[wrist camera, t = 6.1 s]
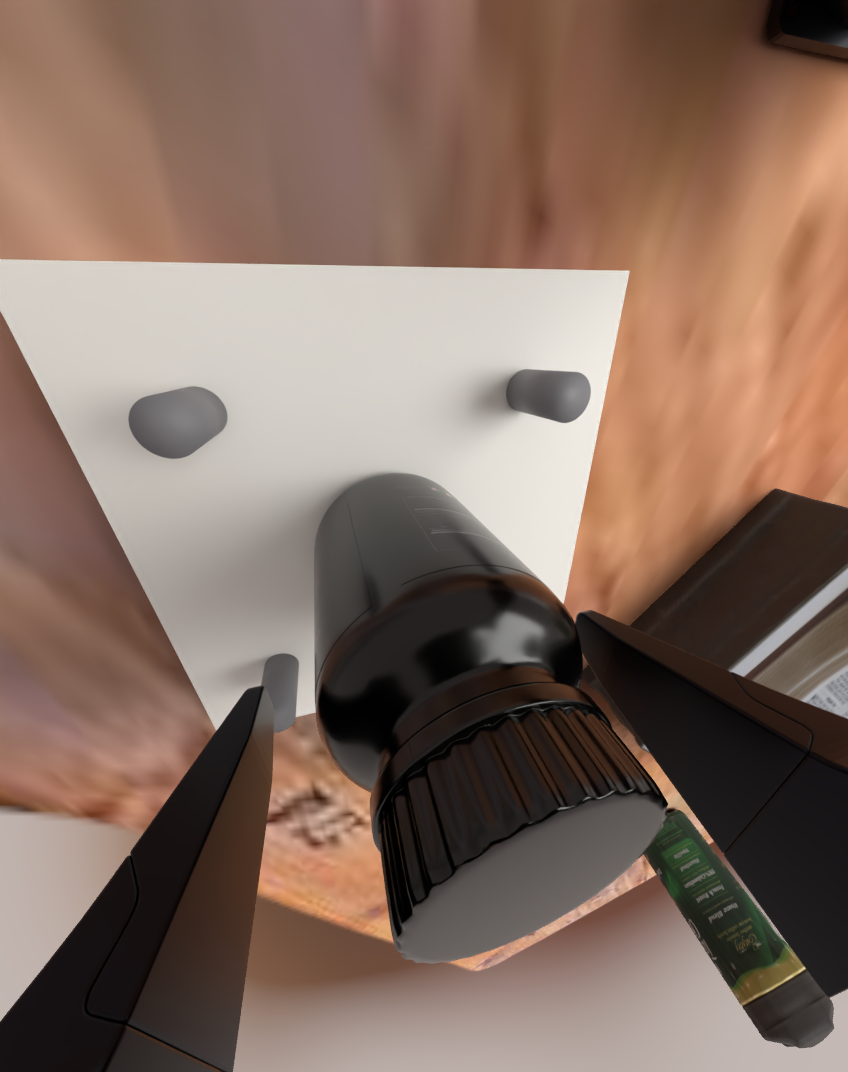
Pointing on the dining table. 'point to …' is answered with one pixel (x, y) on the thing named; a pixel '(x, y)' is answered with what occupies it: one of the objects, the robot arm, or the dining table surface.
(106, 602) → the dining table surface
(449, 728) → the supplement bottle
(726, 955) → the coffee jar
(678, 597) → the bible
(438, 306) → the peg board
